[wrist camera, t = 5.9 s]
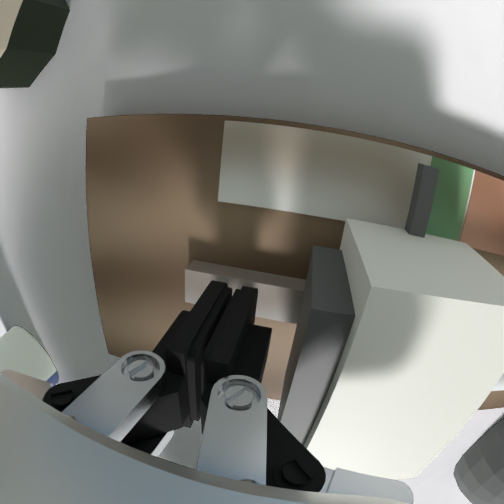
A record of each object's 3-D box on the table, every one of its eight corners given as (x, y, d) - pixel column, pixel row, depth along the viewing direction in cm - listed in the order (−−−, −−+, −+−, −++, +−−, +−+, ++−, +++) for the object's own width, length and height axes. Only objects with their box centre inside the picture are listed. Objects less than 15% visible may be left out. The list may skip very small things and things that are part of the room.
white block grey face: (484, 393, 11) (510, 459, 7) (282, 380, 13) (265, 471, 9) (564, 217, 7) (632, 259, 3) (328, 143, 9) (344, 147, 5)
